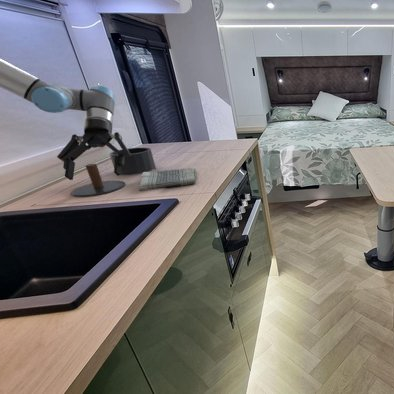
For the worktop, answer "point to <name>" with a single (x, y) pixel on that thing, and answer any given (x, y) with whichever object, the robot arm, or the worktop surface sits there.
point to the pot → (136, 161)
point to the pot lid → (96, 184)
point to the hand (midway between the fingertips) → (93, 176)
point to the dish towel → (167, 178)
